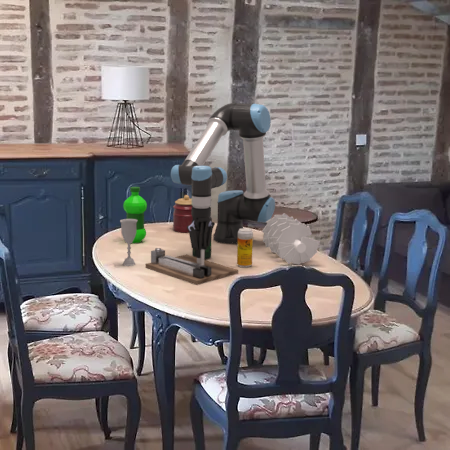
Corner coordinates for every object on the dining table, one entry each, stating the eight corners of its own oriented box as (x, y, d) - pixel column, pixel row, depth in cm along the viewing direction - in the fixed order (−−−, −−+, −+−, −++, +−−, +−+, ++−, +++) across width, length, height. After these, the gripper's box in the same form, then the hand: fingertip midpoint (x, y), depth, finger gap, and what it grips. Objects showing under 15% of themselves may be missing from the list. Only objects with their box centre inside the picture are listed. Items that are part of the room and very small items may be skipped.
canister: (199, 233, 333) (199, 197, 329) (172, 233, 333) (172, 197, 329) (199, 227, 346) (200, 192, 342) (173, 227, 345) (173, 192, 342)
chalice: (129, 267, 274) (129, 223, 270) (116, 264, 277) (116, 221, 273) (141, 263, 280) (141, 220, 276) (128, 260, 283) (128, 218, 279)
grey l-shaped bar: (151, 263, 275) (151, 248, 274) (160, 260, 279) (160, 247, 277) (199, 279, 256) (200, 264, 255) (209, 276, 259) (209, 261, 258)
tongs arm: (163, 263, 274) (163, 256, 273) (167, 262, 275) (167, 255, 275) (207, 276, 259) (207, 268, 258) (211, 275, 260) (211, 267, 259)
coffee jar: (212, 259, 288) (213, 216, 284) (193, 260, 286) (194, 216, 282) (209, 253, 297) (210, 211, 293) (191, 254, 296) (191, 211, 292)
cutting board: (186, 257, 290) (186, 254, 289) (238, 273, 269) (238, 269, 269) (145, 267, 274) (145, 263, 274) (196, 284, 254) (196, 280, 253)
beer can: (241, 268, 276) (242, 232, 273) (234, 264, 281) (235, 228, 278) (254, 266, 279) (255, 230, 276) (247, 262, 284) (248, 227, 281)
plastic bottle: (147, 244, 311) (147, 189, 305) (123, 244, 309) (123, 189, 304) (146, 238, 321) (146, 185, 315) (123, 239, 319) (123, 185, 313)
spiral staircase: (289, 276, 281) (268, 257, 304) (326, 256, 283) (302, 239, 306) (273, 238, 274) (253, 222, 297) (311, 218, 277) (288, 203, 300)
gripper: (206, 202, 272) (206, 260, 277) (182, 207, 263) (181, 266, 268) (220, 205, 267) (219, 264, 272) (195, 210, 258) (194, 270, 263)
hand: (200, 265), depth 270 cm, fingers closed
